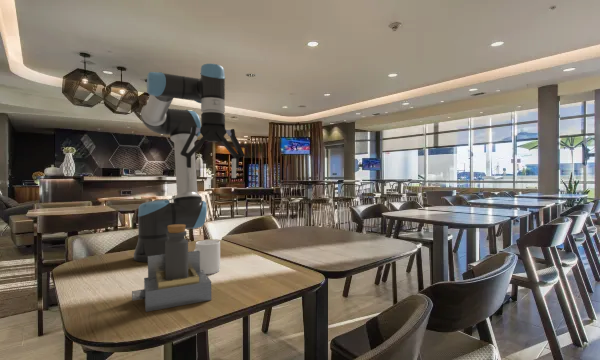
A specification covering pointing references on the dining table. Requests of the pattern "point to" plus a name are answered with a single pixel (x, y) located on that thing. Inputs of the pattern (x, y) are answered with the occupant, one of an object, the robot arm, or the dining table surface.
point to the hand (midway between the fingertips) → (213, 178)
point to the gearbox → (173, 285)
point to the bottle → (176, 252)
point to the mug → (209, 255)
